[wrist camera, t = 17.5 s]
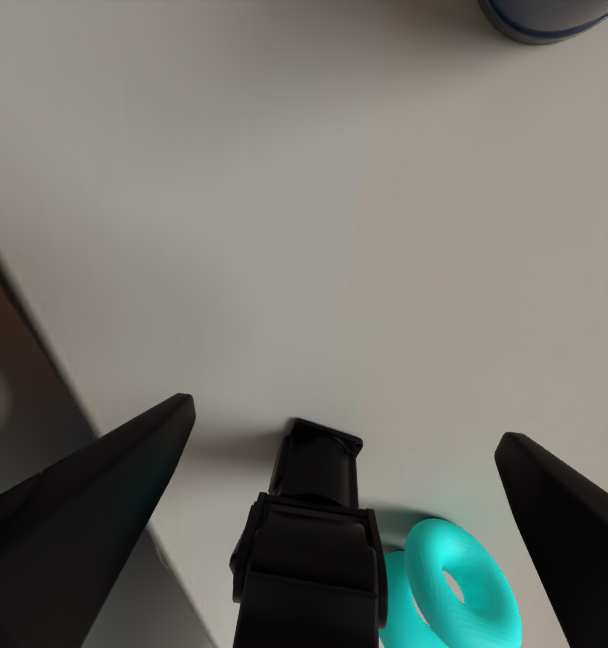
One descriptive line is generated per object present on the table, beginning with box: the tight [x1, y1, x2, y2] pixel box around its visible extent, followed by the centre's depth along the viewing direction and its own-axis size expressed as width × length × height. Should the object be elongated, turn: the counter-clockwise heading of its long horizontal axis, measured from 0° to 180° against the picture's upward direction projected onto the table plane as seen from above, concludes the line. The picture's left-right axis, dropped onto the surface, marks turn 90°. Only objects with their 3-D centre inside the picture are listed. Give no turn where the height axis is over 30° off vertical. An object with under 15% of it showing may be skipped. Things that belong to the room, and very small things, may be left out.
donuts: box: [379, 518, 522, 648], centre depth 27 cm, size 10×10×10 cm
